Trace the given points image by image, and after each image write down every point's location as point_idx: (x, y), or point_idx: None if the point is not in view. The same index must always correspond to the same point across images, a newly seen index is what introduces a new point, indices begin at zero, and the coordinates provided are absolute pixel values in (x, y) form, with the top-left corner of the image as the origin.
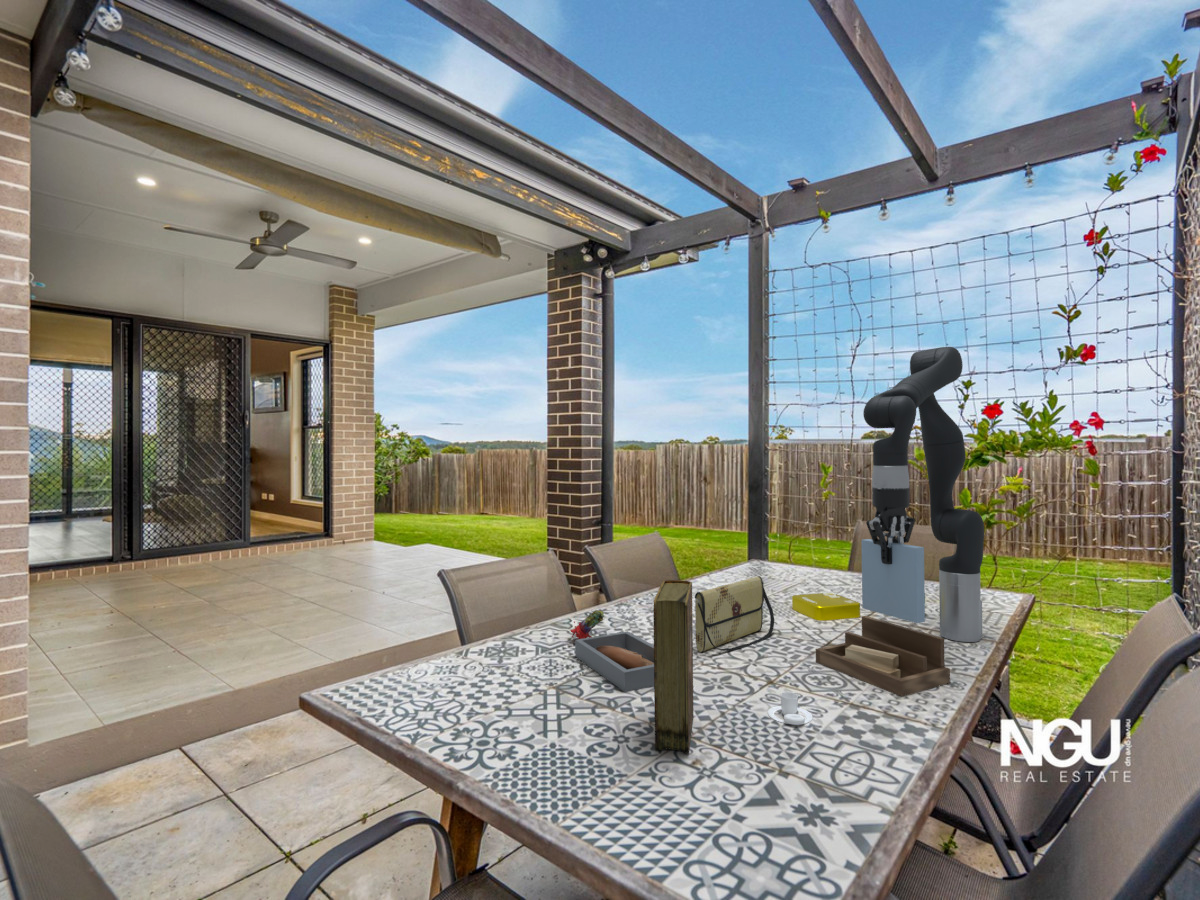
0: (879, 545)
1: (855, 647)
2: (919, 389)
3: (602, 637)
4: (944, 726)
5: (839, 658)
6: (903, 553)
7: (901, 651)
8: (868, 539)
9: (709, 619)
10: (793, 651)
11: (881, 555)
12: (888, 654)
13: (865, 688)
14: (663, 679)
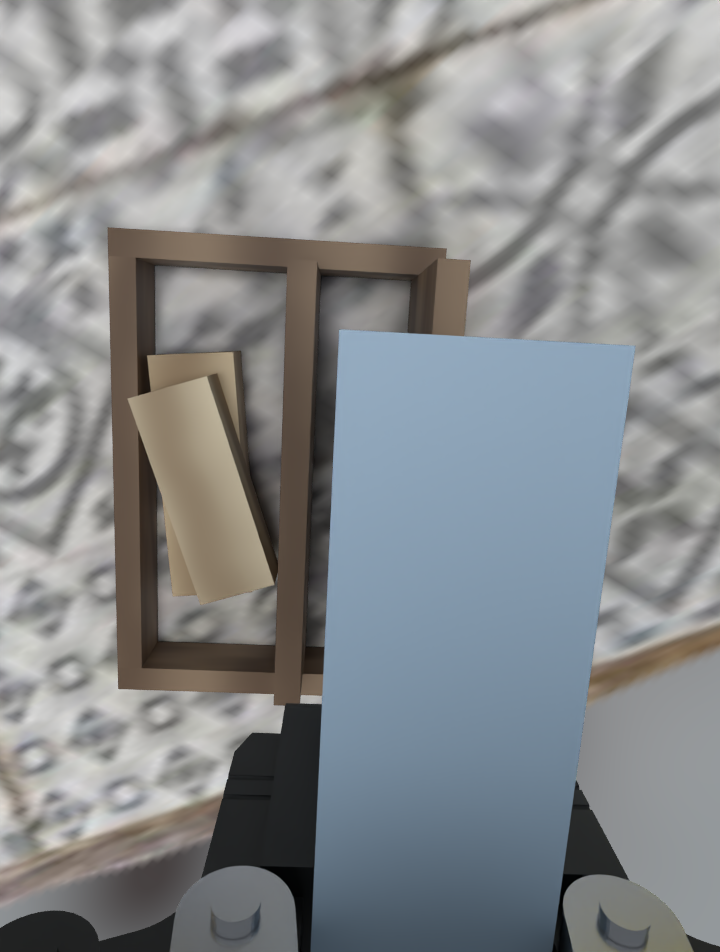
0: (198, 885)
1: (185, 415)
2: None
3: None
4: (56, 845)
5: (112, 383)
6: None
7: (278, 602)
8: (547, 395)
9: None
10: (147, 57)
11: (226, 792)
12: (239, 558)
13: (81, 550)
14: None
